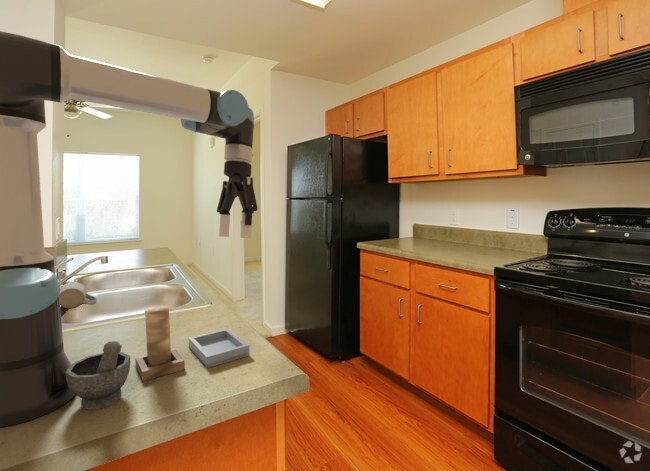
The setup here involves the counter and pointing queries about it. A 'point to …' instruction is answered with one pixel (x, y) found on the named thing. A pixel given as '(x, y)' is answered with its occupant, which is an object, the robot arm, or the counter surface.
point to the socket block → (159, 366)
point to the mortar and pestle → (99, 376)
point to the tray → (218, 347)
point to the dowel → (158, 335)
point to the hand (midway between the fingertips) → (234, 237)
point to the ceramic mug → (75, 295)
